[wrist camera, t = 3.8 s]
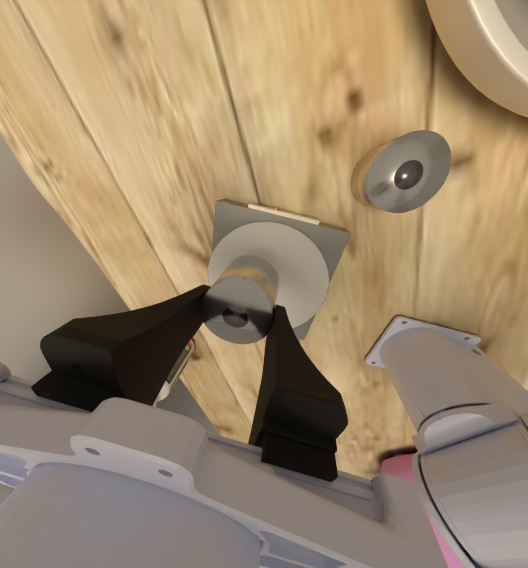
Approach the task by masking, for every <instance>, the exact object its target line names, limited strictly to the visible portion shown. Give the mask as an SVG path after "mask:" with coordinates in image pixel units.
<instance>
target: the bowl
mask: <svg viewBox="0 0 528 568" xmlns="http://www.w3.org/2000/svg"><path fill="white" fill-rule="evenodd" d="M426 4H427V7H428V10H429V13H430V16H431V19H432V21H433V24H434V26H435V29H436V31H437V33H438V36H439V38H440V40H441V42H442V44H443V45H444V47H445V49H446V51H447V53H448V54H449V56H450V57H451V59H452V60H453V62H454V64H455V65H456V66H457V68H458V69H459V70H460V71H461V73H462V74H463V75H464V76H465V77H466V79H467V80H468V81H469V82H470V83H471V84H472V85H473V86H474V87H475V88H476V89H478V90H479V91H480V92H481V93H483V94H484V95H485V96H486V97H488V98H489V99H491V100H492V101H494V102H495V103H497V104H498V105H500V106H502V107H504V108H506V109H508V110H510V111H512V112H514V113H517V114H519V115H522V116H525V117H527V118H528V0H426Z"/></svg>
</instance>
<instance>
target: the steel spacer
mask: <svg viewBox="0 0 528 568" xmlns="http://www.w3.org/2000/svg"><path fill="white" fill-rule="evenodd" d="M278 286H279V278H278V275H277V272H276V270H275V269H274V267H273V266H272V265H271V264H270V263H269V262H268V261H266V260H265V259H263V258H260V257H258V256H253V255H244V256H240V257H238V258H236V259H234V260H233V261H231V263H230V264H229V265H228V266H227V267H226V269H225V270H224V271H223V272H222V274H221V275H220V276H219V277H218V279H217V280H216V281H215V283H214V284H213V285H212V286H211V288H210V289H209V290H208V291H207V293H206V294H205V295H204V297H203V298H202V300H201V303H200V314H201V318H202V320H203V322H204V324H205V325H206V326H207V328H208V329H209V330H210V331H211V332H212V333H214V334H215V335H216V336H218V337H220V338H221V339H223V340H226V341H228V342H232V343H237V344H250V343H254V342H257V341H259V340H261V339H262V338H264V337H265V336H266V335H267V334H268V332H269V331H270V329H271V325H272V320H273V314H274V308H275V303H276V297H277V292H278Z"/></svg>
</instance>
